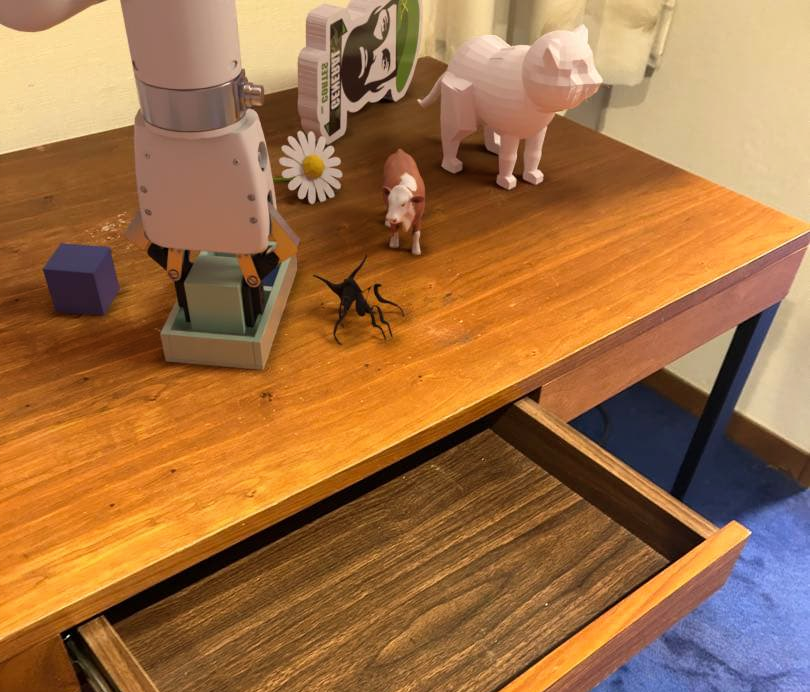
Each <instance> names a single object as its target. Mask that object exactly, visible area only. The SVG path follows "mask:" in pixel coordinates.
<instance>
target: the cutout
mask: <svg viewBox="0 0 810 692" xmlns="http://www.w3.org/2000/svg"><path fill="white" fill-rule="evenodd" d="M423 22H424V7H423V0H350V1H349V2H348V4H347V6H346V8H344V7H341V6H336V5H331V4H327V3H322V4H320V5H318V6H316V7H314V8H312V9H310V10H309V11H308V13H307V15H306V17H305V47H303V48H302V49H300V51H299V53H298V56H297V64H296V65H297V94H298V95H297V112H298V115H299V117H300V126H301V128H302V130H303V131H304V134H305V136H306V138H308V133H309V132H311V131H312V132H313V133H314V135H315V143H317V142H318V139H319V138H320V137H321V136H323V137H324V138H325V139H326V144H325V146H329V145H330V144H331V143H334V142H335V141H336V140H338V139H339V138H341V137H342V136H344V135H345V134H346V131H347V127H348V126H347V125H348V112H350V113H356V112H358V111H360V110H361V109H362V108H363V107H364V106H365V105H366V104H367V103H377V102H379V101H380V100H381V99H385V100H389V101H392V102H395V103H396V102H398V101H399V100H400V99H402V98H403V97H405V95H406V93H407V91H408V89H409V87H410V84H411V83H412V79H413V76H414V73H415V70H416V66H417V62H418V59H419V55H420V49H421V44H422V43H421V42H422V33H423Z"/></svg>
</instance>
